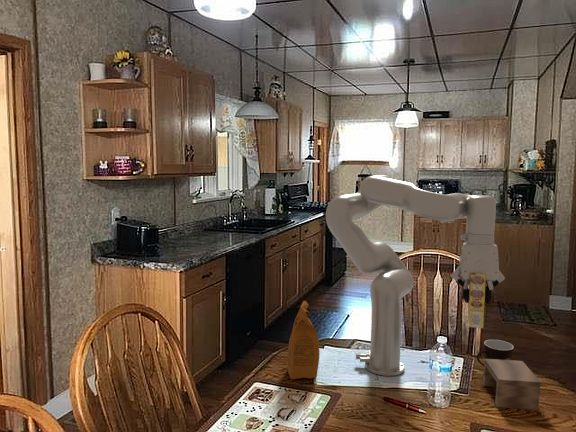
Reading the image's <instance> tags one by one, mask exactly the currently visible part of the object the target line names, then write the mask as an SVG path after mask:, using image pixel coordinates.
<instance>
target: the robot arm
mask: <svg viewBox="0 0 576 432" xmlns="http://www.w3.org/2000/svg"><path fill="white" fill-rule="evenodd" d="M381 206H385V207H391V208H395V209H398V210H403V211H406V212H408V213H410V214H413V215H416V216H419V217H422V218H426V219H431V220H434V221H439V222H447V223H448V222H453V221H456V220H460V219H466V225H465V233H464V234H460V240H463V241H465V242H463V243H462V245H461V250H460V255H459V263H458V266H457V268H456V269H454V271H453V272H452V273H451V275H450V277H451V278H452V279H453V280H455V281H456V283H458V284H459V285H460V286H461V287H462V296H461V297H462V298H461V299H463V300H464V302H465V303H466V304H468V303H469V283H470V277H471V274H472V273H481V274H486V282H485V303H486V305H489V304H490V301H491V300H492V291H493V290H494V288H495V287H496V286H498V285H499V284H500V283H502V282H503V281H505V279H506V276H505V275H504V274H503V272H501V270H500V265H499V263H500V261H499V249H498V248H499V247H498V245H497V244H496V243H495V231H496V213H497V211H496V209H497V200H496V197H494V196H492V195H483V194H481V195H480V194H477V195H476V194H475V195H473V194H472V195H471V194H465V193H460V192H455V193H449V194H444V193H443V194H442V193H437V192H432V191H429V190H423V189H421V188H418V187H417V186H416V185H415V184H414V183H412V182H408V181H403V180H397V179H394V178H392V177H391V176H389V175H387V174H376V175H368V176H367V177H365V178H364V179H363V180H362V181H361V182H360V185H359V190H358V191H357V192H355V193H349V194H342V195H338V196H335V197H334V198H332V199H331V200H330V202H329V203H328V204H327V207H326V211H325V221H326V226H327V227H328V229H329V231H330V233H331V234H332V235H333V237H334V238H335V239H336V240H337V242H338V243H339V245H340V246H341V247H342V249H343V250H344V252H345V254H347V256H348V257H349V258H350V260H351V261H352V263H353V265H354V266H355V267H356V269H358V271H359V272H360V273H362V274H364V275H373V274H375V273H377V276H375V278H373V280H372V282H371V284H370V288H369V293H370V295H369V296H370V301H371V303H370V304H371V324H370V325H371V327H370V328H371V329H370V346H369V347H370V348H369V350H368V352H365V353H360V352H357V353H355V360H359V362H360V363H364V366H365V367H364V368H365V369H366V370H367V371H368V372H370V373H372V374H375V375H378V376H384V377H393V376H398V375H401V374H403V373H404V371H405V365H404V364H405V363H403V362H402V361H401V346H402V345H401V344H402V343H401V342H402V326H403V325H402V322H403V319H402V318H403V313H402V306H401V298H403V297H405V296H407V295H408V294H409V293H410V292H411V291H412V290H413V288H414V277H413V275H412V273H411V271H410V270H409V269H408V268H407V265H405V264H404V262H403V260H401V258H400V257H399V255H398V254H397V253H396V252H395V250H394V249H393V248H392V247H391V246H389V245H388V244H387V243H385V242H383V241H373V242H372V241H371V240H370V239H369V238H368V236H367V235H366V234H365V232H364V230H362V229H361V228H360V227H359V226H358V225H357V224H356V223H355V222H354V221H353V220H356V219H360V218H362V217H365V216H367V215H368V214H371V212H373V211H375V210H377V209H378V208H380V207H381ZM459 275H460V277H461V278H462V279H461V278H460V277H459Z"/></svg>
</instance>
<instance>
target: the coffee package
mask: <svg viewBox="0 0 576 432" xmlns="http://www.w3.org/2000/svg"><path fill="white" fill-rule="evenodd" d="M308 308H309V303H308V302H307V301H306V300H303V301H302V304H301V305H300V308H299V310H298V312H297V314H296V317H295V318H294V320H293V321H294V322H293V327H292V330H291V333H290V336H289V341H288V348H287V359H286V360H287V363H286V364H287V365H286V366H287V367H286V369H287V373H288V375H289V378H290V379H291V380H297V379H314V378H315V379H316V378H317V376H318V370H319V364H320V343H319V336H318V333H317V330H316V329H315V326H314V324H313V323H312V322H311V320H310V318H309V316H311V313H310V311H308V310H307V309H308Z"/></svg>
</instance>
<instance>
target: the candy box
mask: <svg viewBox="0 0 576 432" xmlns="http://www.w3.org/2000/svg"><path fill="white" fill-rule="evenodd" d="M485 287H486V274H481V273H472V274H471V277H470V283H469V286H468V289H469V303H467V304H468V307H467V318H468V319H467V321H468V322H467V323H468V325H467V326H468V327H469V328H479V329H484V322H485V321H484V319H485V303H486V302H485Z"/></svg>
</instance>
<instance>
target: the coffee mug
mask: <svg viewBox="0 0 576 432" xmlns="http://www.w3.org/2000/svg"><path fill="white" fill-rule="evenodd" d="M514 347H515V346H514V345H513V344H512V343H510V342H507V341H505V340H500V339H487V340H485V341H484V342H483V348H484V350H481V351H479V352H478V353H477V355H476V361H477V362H478V363H479V364H480V365H481V366H483V367H484V363H483V362H482V361H481V360H480V356H481V355H482V354H483V353H484V360H485V359H498V360H512V358H513V352H514Z"/></svg>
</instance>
